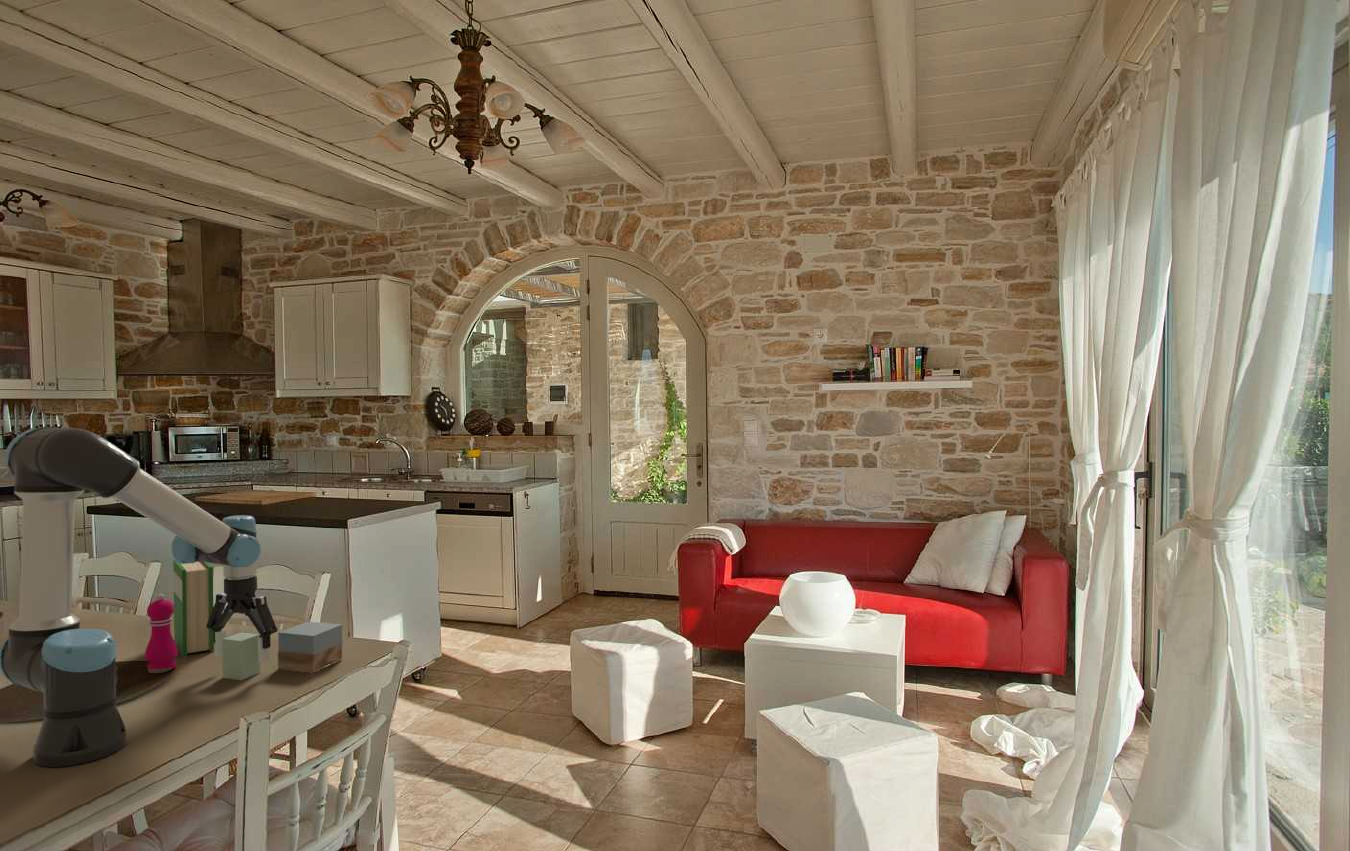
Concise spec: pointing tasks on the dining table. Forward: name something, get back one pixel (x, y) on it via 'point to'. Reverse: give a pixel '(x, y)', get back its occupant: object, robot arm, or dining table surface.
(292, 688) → the dining table surface
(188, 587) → the hardback book
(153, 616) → the pepper mill
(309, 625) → the tower top block
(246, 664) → the sage block
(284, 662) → the tower bottom block
